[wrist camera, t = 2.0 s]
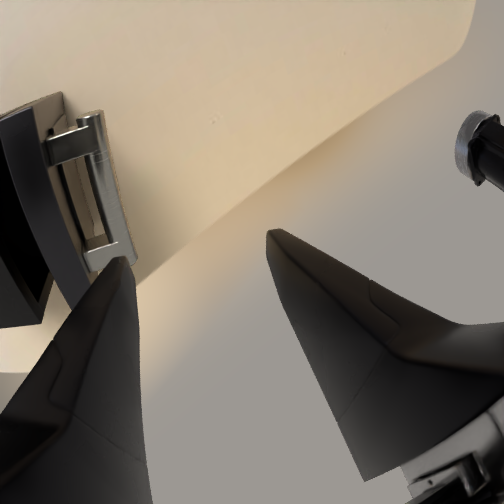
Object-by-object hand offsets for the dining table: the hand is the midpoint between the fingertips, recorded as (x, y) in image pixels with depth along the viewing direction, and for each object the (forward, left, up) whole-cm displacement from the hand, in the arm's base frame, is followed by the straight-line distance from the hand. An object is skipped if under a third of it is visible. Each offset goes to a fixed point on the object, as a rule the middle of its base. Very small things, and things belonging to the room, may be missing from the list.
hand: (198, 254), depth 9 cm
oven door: (+4, +5, -12) cm, 14 cm away
